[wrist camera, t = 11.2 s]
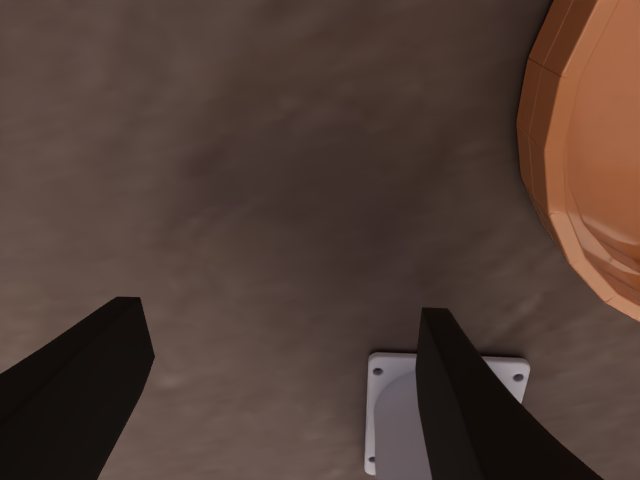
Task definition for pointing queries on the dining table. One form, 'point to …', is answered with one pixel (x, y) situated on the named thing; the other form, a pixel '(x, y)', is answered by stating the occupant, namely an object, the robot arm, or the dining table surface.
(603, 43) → the pan
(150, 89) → the dining table surface
